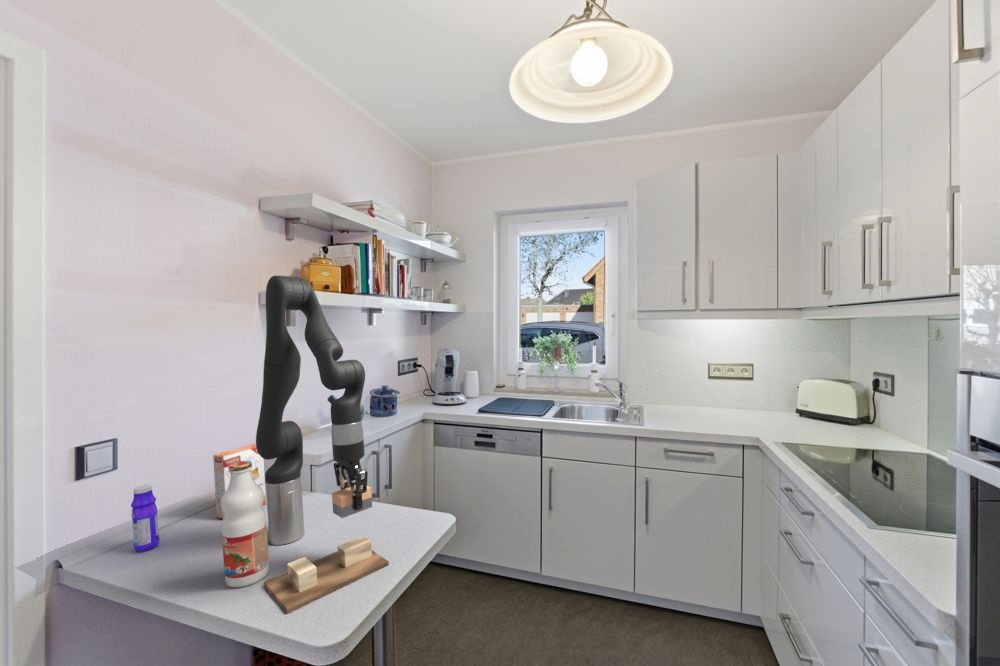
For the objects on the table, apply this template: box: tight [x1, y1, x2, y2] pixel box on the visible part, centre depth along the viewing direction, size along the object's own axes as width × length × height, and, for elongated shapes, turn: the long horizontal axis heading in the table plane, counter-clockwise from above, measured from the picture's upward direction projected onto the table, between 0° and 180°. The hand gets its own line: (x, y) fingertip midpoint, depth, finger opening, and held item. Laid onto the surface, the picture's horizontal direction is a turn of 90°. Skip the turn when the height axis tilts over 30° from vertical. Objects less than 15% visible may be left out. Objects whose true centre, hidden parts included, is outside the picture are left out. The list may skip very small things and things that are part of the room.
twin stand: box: [263, 535, 390, 614], centre depth 106 cm, size 15×24×5 cm, turn 135°
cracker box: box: [212, 443, 267, 520], centre depth 148 cm, size 14×6×21 cm, turn 153°
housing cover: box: [331, 485, 373, 508], centre depth 111 cm, size 8×5×2 cm, turn 135°
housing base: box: [332, 496, 373, 519], centre depth 111 cm, size 8×5×2 cm, turn 135°
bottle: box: [130, 484, 160, 553], centre depth 125 cm, size 7×6×17 cm
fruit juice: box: [221, 461, 270, 588], centre depth 107 cm, size 9×9×28 cm
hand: (352, 506), depth 111 cm, fingers closed on housing base, housing cover, 5 cm apart
